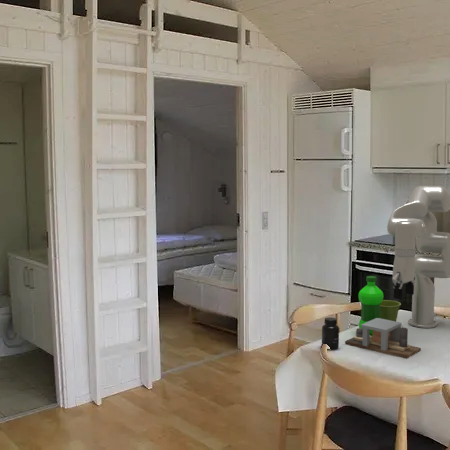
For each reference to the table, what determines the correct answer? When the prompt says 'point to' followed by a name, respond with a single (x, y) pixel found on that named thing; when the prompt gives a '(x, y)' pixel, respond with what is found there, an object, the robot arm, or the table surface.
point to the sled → (376, 339)
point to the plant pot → (389, 310)
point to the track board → (394, 352)
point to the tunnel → (382, 327)
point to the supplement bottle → (330, 333)
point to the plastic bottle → (370, 301)
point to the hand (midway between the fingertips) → (403, 296)
